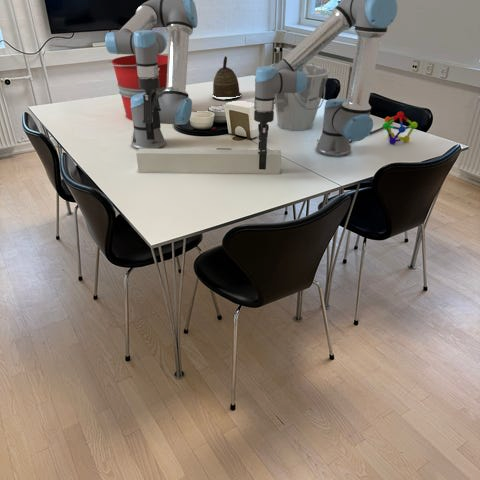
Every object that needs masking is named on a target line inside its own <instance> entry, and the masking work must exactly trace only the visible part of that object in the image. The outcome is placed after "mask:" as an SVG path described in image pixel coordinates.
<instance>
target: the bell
mask: <svg viewBox="0 0 480 480" xmlns="http://www.w3.org/2000/svg"><path fill="white" fill-rule="evenodd" d="M227 63H228V57H227V56H224V58H223V63H222V67H221V68H219V69H218V70H217V71H216V73H215V75H214V78H213V81H212V83H213V84H212V95H214V96H216V97H236V96H240V95H241V96H242V93H241V92H240V83H239V80H238V79H239V78H238V77H237V75H236V73H235V72H234V70H232V69H231V68H230V67H227Z"/></svg>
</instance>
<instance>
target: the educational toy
mask: <svg viewBox="0 0 480 480" xmlns="http://www.w3.org/2000/svg"><path fill="white" fill-rule="evenodd" d="M397 119H399V124H400V125H399V127H398V126H393V125H391V124H392V123H394V122H395V121H396V120H397ZM403 120H404V121H405V122H407V123H408V124H409V125H407V126H404V123H403ZM382 127H383V130H386V132H387V138H388V142H389V145H395V144H396V143H397V142H402V141H403V142H404V143H409V142H410V140H411V138H410V136H411V134H412V132H413V131H414V130H415V129H417V127H418V122H417V121H411V120H410V119H409V118H408V117H406V116H405V113H404V112H403V111H401V110H400V111H398V112H397V114H396V115H394V116H391V117H390V116H386V117H385V118H384V122H383V123H382ZM392 129H393V130H397V131H398V132H396V134H395V133H394V132H392ZM408 129H409V131H408V133H407V134H406V135H404V136H401V134H403V133H405V132H406V130H408ZM399 135H400V136H399Z"/></svg>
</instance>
